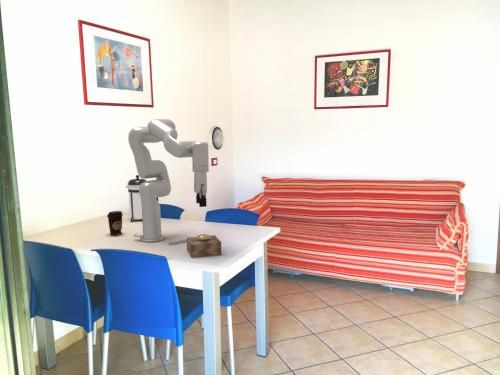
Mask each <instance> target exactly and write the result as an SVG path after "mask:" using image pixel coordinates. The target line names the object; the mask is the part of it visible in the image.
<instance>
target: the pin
mask: <svg viewBox="0 0 500 375" xmlns="http://www.w3.org/2000/svg"><path fill="white" fill-rule="evenodd" d="M209 235H210V234H207V233H203V234H197V236H196V237H197V239H198V241H208V240H209Z"/></svg>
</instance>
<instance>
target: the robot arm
mask: <svg viewBox="0 0 500 375" xmlns="http://www.w3.org/2000/svg"><path fill="white" fill-rule="evenodd" d="M178 136H179V134H178V132H177V130H176V125H175V122H174V121H173V120H171V119H167V118H154V119H151V120H149V122H148V123H147V126H136V127H133V128H131V129H130V131H129V132H128V144H129V148H130V149H131V152H132V154H133V159H134V163H135V167H136V172H137V175H139V179H145V180H146V181H145V182H143V183H141V184H140V186H139V194H140V198H141V204H142V219H141V220H142V221H141V222H142V230H141V231H140V232H134V233H133V234H134V236H133V237H136V238H139V240H140V241H141V242H144V243H155V242H160V241H163V240H165V235H163V234H162V218H161V215H162V214H161V205H160V203H159V200H158V201H157V199H156V198H158V199H159V198H163V197H167V196H169V195H171V191H172V185H171V180H170V177H169V173H168V169H167V165H166V163H165V162H163V161H162V160H159V159H152V156H151V153H150V150H149V149H148V147H147V146H146V145H145V144H155V143H161V142H162V143H163V146H164V149H165V151H166V152H167V153H168V154H170V155H172V156H173V157H175V158H179V159H182V158H192V159H191V163H192V173H194V175H193V192H194V193H195V194H196V195H195V196H196V197H195V200H196V201H195V203H196V204H198V205H199V207H200V208H204V207H205V208H206V207H207V205H208V204H207V192H208V178H207V176H208V174H207V173H209V171H210V170H209V169H210V167H209V165H210V163H209V143H208V142H206V141H195V140H193V141H189V140H187V141H179V140H178ZM147 179H152V180H147Z"/></svg>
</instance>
